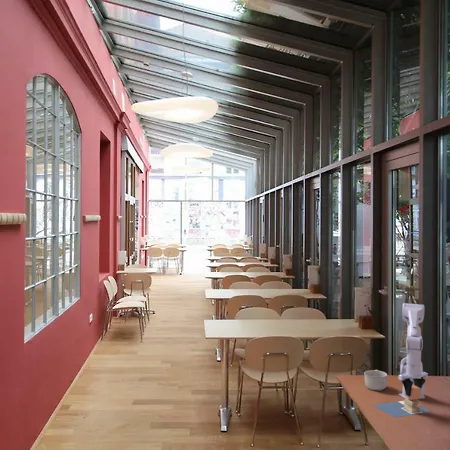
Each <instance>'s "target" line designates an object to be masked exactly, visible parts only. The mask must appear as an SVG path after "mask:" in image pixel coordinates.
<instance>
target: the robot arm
mask: <svg viewBox="0 0 450 450" xmlns="http://www.w3.org/2000/svg"><path fill="white" fill-rule="evenodd" d="M401 311H402V312H401V313H402V314H401V315H402V317H401V318H402V321H403V322H406V325H407V329H406V330H407V331H406V335H407V336H406V339H405V340H406V341H405V343H406V344H405V346H406V347H405V348H406V356H405V357H403V358H402V359H401V361H400V370H399V371H400V374H398V377H397V378H398V380H399V381H400V382H401V383H402V393H401V392H400V393H398V395H399V396H401V397H403V398H404V399H406V398H408V397H406V396H405V392H406V395H407V396H410V395H411V388H412V385H415V386H417V387H419V388H421V395H420V399H425V398H426V397H425V383H426V378H427V379H428V375H429V373H428V372H425V371H424V370H423V369H424V368H423V362H422V351H423V344H424V342H423V341H424V340H423V337H422V329H421V326H419V324H421V323H423V322H424V317H425V305H424V304H423V303H422V304H416V303H406V302H403V303H402V310H401ZM420 399H419V400H420Z"/></svg>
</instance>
